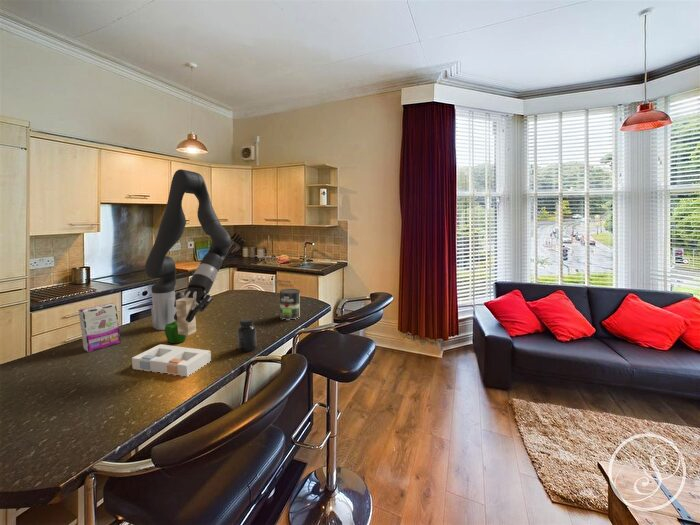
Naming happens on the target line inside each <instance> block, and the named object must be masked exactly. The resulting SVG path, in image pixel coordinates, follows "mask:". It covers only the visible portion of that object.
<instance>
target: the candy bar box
mask: <svg viewBox="0 0 700 525" xmlns="http://www.w3.org/2000/svg"><path fill="white" fill-rule="evenodd" d="M78 317H79V325H80V331H81V339H82V346H83V350H84V351H86V352H88V353H92V352H94V351H98V350H101V349H105V348H109V347H111V346H114V345H119V344H120V343H121V335H120V326H119V318H118V317H119V316H118V309H117V305H116V304H115V303H110V302H109V303H105V304H100V305H95V306H91V307H87V308H86V307H85V308H81V309H78Z"/></svg>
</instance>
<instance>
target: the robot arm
mask: <svg viewBox="0 0 700 525" xmlns="http://www.w3.org/2000/svg"><path fill="white" fill-rule="evenodd" d="M168 193H169V194H168V199H167V202H166V206H165V209H164V212H163V215H162V219H161V221H160V224H159V227H158V231H157V234H156V237H155V240H154V243H153V246H152V248H151V250H150V252H149V255H148V256H147V259H146V262H145V263H144V264H145V265H144V272H145V275H147V277H149V278H151V279H158V281H156V283H154V284H152V285H151V290H150V291H151V300H152V307H151V320H152V328H153V329H155V330H157V331H165V326H166V324H169V323H170V324H171V323H172V322H175V320H176V321H177V312H176V300H178V299H181V298H184V297H185V298H194V301H193V305H192V308H191V309H192V310H190V311H189V313H188V315H187V317H186V321H187V322H191V321H192V320H193V319H194V317H195V318H196V314H197V313H199V312H200V313H201V312H203V311H204V310H205V309H206V308H207V307H208V306H209V304H210V303H211V302H212V301H213V297H212V296H211V295H210V294H209V293H210V291H211V289H212V287H213V284H214V283H215V280H216V279H217V277H218V276H217V275H218V273H219V271H220V268H221V267H222V264H223V262H224V260H225V259H226V256H228V253H229V251H230V249H231V245H232V238H231V236H230V234H229V233H228V231H227V230H226V228H224V226H223V225H222V224H221V221H220V220H219V218H218V216H217V213H216V212H215V210H214V207H213V203H212V201H211V198H210V194H209V190H208V188H207V185H206V181H205V180H204V177H203V176H202V174H200V173H198V172H196V171H191V170H186V169H181V168H180V169H177V170H176V171H175V172H174V173H173V175H172V178H171V183H170V188H169V192H168ZM185 194H190V195H191V194H192V195H194V196H195V197H196V199H197V201H198V207H197V220H198V222H199V224H200V226H201V228H202V230H203V232H204V233H205V235H207V236H210V238H211V239H210V240H211V244H210V247H209V250H208V251H207V252H206V254H204V256H203V258H202V259H201V261H200V263H199V265H198V267H197V268H196V269H195V270H194V273H193V274H192V276H191V278H190V280H189V282H188V284H187V288H186V290H185V291H184V292H182V293H181V292H180V291H178V292H175V291H176V290H175V288H176V287H175V286H176V283H177V272H176V270H177V269H176V263H175V260H174V259H173V258H172V256H168V255H167V254H168V253H169V251H170V250H171V249H172V248H174V246H175V245H176V244H177V243H178V241H179V240H180V239H181V238H182V235H183V234H184V230H185V228H186V226H187V219H186V215H185V213H184V209H183V206H182V203H183V198H184V195H185Z"/></svg>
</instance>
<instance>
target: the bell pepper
mask: <svg viewBox="0 0 700 525" xmlns="http://www.w3.org/2000/svg"><path fill="white" fill-rule="evenodd" d="M164 333H165V334H164V336H165V337H166V340H167V342H168V343H169V344H177V343H178V344H181V343H183V342H185V341H186V340H187V339H186V338H187V335H180V334H178V325H177V321H176V320H175V322H172V323H171V324H170V323H169V324H166V326H165V330H164Z"/></svg>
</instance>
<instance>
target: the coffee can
mask: <svg viewBox="0 0 700 525" xmlns="http://www.w3.org/2000/svg"><path fill="white" fill-rule="evenodd" d="M300 293H301V291H300V289H298V288H283V289H280V290H279V311H280V312H279V313H280V314H279V317H280V319H281V318H282V319H281V320H283V319H286V320H285V321H291V320H290V319H295V320H297V319H296V318H298V317H301V314H300V313H301V310H300V309H301V306H300V305H301V303H300V302H301V298H300V296H301V295H300ZM298 319H299V318H298Z"/></svg>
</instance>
